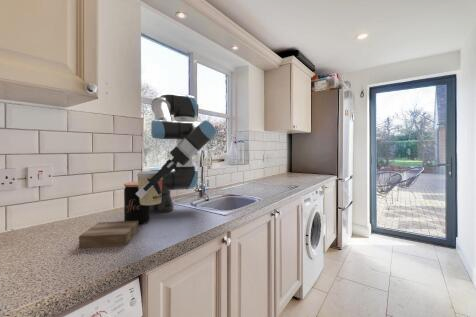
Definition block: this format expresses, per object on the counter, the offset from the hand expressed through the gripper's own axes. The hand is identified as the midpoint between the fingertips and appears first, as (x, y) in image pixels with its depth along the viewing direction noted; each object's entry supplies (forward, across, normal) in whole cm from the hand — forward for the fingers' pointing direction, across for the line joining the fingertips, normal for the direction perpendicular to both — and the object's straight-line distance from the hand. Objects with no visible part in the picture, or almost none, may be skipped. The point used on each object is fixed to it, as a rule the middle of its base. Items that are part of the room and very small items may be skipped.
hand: (141, 193), depth 88 cm
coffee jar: (+16, +18, -7) cm, 25 cm away
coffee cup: (+1, 0, -5) cm, 5 cm away
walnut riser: (+19, -1, -4) cm, 20 cm away
